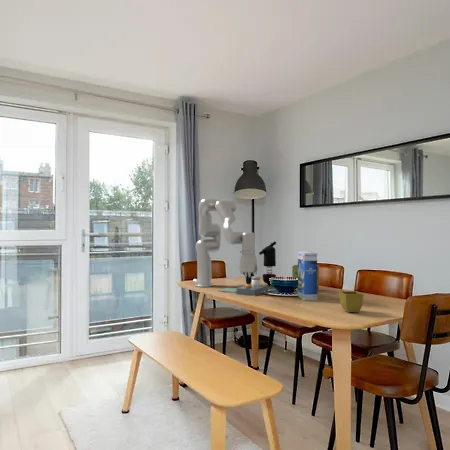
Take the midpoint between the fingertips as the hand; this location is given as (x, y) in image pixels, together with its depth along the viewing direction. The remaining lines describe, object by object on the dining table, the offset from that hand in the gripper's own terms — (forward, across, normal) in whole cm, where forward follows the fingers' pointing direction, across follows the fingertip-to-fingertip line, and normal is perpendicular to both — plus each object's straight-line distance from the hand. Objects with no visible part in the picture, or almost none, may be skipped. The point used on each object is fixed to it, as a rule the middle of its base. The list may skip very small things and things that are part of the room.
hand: (248, 283), depth 228 cm
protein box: (+6, +25, +29) cm, 39 cm away
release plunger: (+6, 0, 0) cm, 6 cm away
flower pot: (+7, +64, -18) cm, 67 cm away
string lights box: (+6, +35, +4) cm, 36 cm away
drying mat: (+6, -15, +5) cm, 17 cm away
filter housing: (+6, 0, +6) cm, 8 cm away
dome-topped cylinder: (+6, 0, +10) cm, 11 cm away
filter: (+6, -3, +33) cm, 34 cm away
